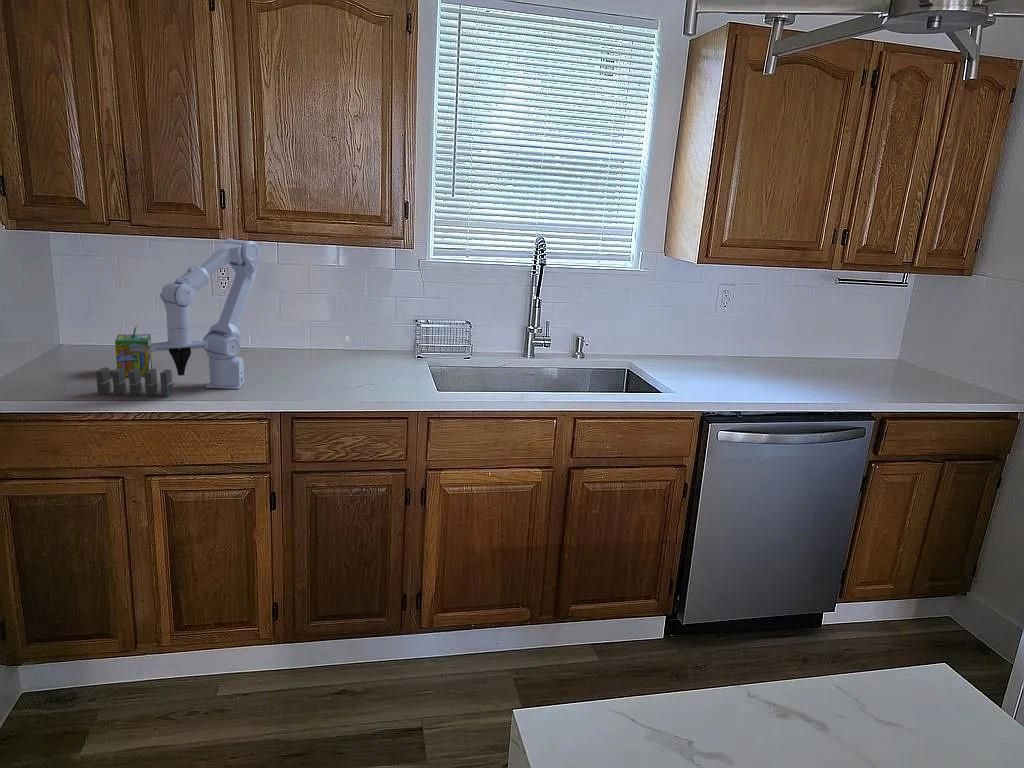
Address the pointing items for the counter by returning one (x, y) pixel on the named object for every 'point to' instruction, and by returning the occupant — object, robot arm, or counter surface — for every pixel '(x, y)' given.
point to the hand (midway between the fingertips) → (181, 374)
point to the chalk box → (133, 352)
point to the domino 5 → (166, 383)
